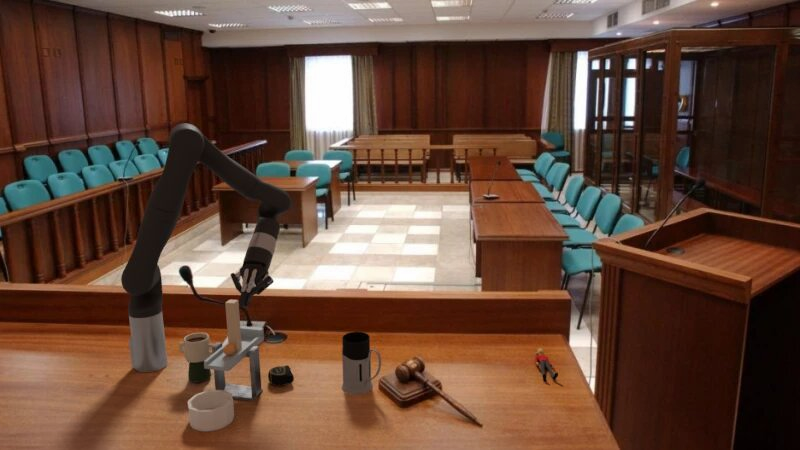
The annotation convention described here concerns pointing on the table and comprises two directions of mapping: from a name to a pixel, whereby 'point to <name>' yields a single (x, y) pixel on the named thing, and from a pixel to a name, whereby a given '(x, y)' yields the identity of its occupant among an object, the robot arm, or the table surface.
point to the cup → (211, 410)
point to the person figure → (544, 364)
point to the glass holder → (357, 363)
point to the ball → (229, 349)
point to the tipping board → (235, 357)
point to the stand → (240, 390)
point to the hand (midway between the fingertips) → (243, 306)
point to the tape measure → (280, 375)
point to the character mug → (197, 355)
